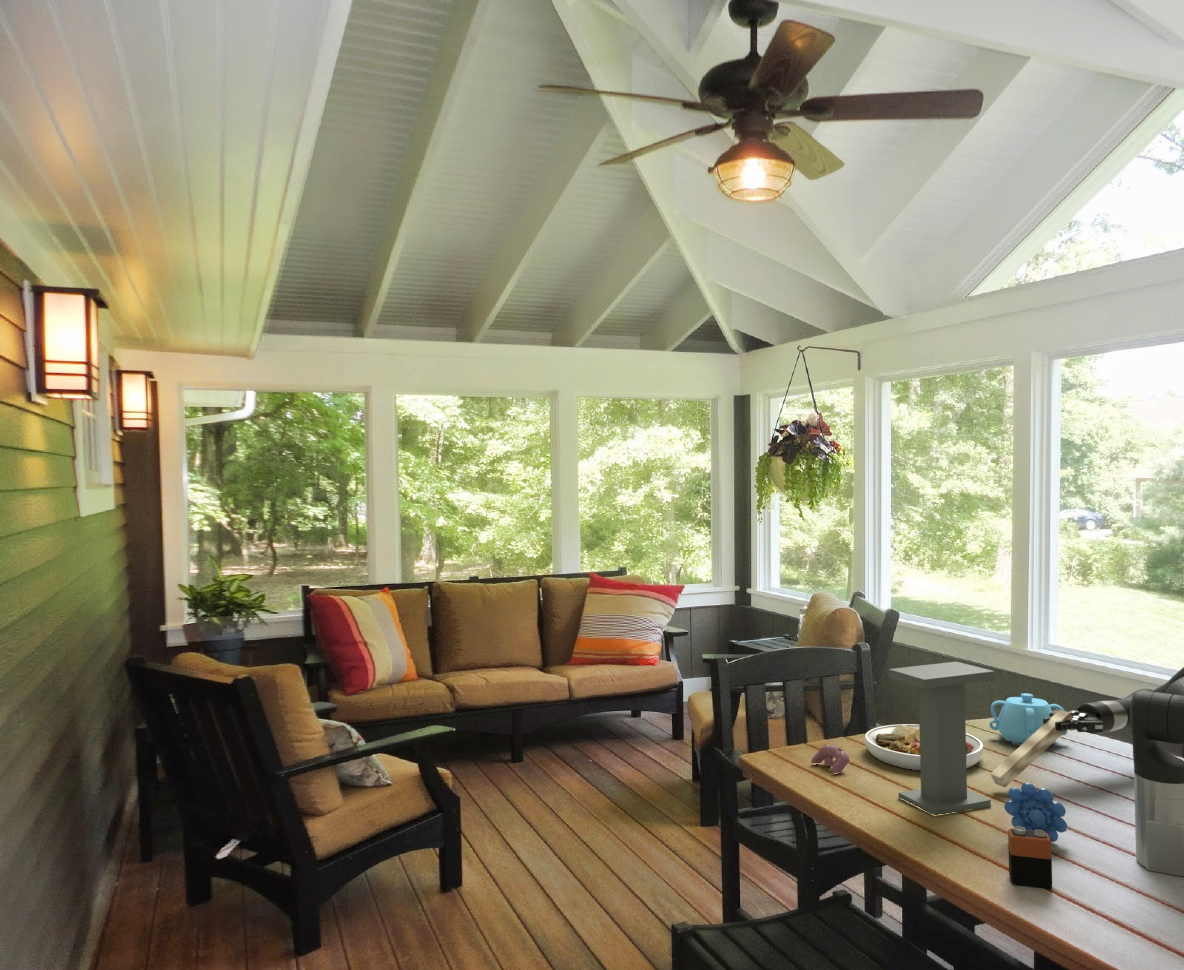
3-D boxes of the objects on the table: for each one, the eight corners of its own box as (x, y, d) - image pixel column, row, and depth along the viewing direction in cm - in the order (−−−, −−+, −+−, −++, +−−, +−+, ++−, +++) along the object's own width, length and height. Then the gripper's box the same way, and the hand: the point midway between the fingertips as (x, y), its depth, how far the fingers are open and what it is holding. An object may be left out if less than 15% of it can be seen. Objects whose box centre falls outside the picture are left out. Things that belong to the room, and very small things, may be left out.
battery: (1008, 875, 163) (1007, 822, 163) (1048, 880, 161) (1047, 826, 161) (1011, 885, 159) (1010, 831, 159) (1052, 890, 156) (1051, 836, 156)
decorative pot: (1030, 731, 255) (1029, 685, 255) (1074, 746, 239) (1072, 698, 239) (984, 736, 250) (983, 690, 250) (1026, 752, 235) (1024, 703, 235)
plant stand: (959, 788, 209) (956, 661, 209) (997, 805, 198) (994, 671, 198) (891, 800, 202) (888, 669, 202) (927, 818, 191) (924, 679, 191)
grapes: (1006, 845, 176) (1005, 787, 176) (1004, 832, 182) (1002, 776, 182) (1070, 853, 172) (1069, 793, 172) (1066, 840, 178) (1064, 782, 178)
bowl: (842, 752, 240) (841, 724, 240) (918, 735, 254) (917, 709, 254) (928, 784, 213) (927, 752, 213) (1008, 763, 227) (1007, 734, 227)
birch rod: (1064, 719, 215) (1059, 709, 214) (1074, 722, 212) (1069, 712, 211) (995, 783, 207) (990, 773, 207) (1005, 787, 204) (999, 777, 204)
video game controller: (845, 779, 221) (854, 753, 222) (832, 774, 219) (842, 748, 221) (821, 768, 230) (830, 743, 231) (808, 763, 229) (817, 738, 230)
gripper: (1128, 738, 210) (1075, 747, 204) (1078, 724, 223) (1027, 732, 218) (1127, 708, 210) (1074, 716, 204) (1077, 695, 223) (1026, 702, 218)
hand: (1050, 724), depth 211 cm, fingers closed on birch rod, 3 cm apart
